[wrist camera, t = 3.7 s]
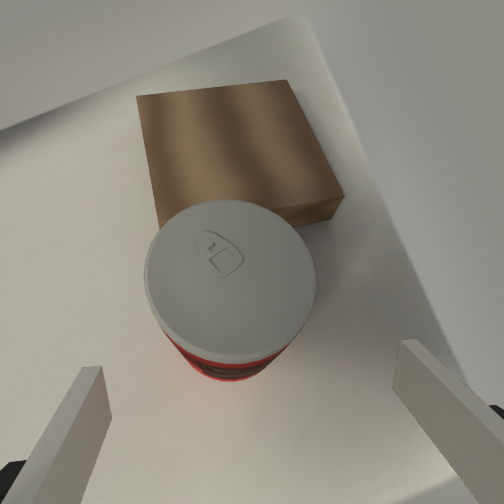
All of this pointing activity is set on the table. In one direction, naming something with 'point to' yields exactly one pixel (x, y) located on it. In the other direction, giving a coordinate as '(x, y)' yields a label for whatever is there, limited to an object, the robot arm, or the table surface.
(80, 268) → the table surface
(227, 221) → the canned food
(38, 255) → the table surface
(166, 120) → the walnut stand
